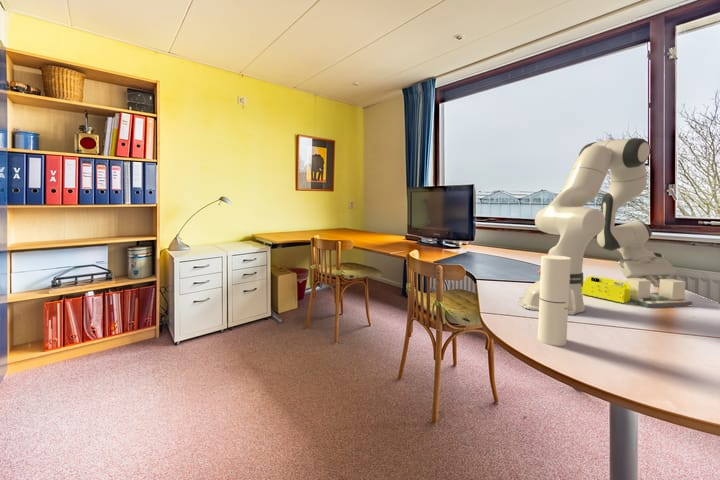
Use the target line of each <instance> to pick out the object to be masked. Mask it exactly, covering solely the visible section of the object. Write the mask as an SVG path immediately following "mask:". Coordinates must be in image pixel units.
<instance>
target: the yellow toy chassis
mask: <svg viewBox="0 0 720 480" xmlns="http://www.w3.org/2000/svg"><path fill="white" fill-rule="evenodd" d="M630 290H631V286H630V285H629V284H627V281H623V280H619V279H618V280H617V279H612V278H607V277H605V278H604V277H599V276H594V275H590V276H588V277H586V278H585V279H583V287H582V295H585V296H588V297H595V298H596V299H597V298H599V299H603V300H609V301H612V302H613V303H622V304H625V303H627V302H628V301H630Z"/></svg>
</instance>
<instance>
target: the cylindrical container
mask: <svg viewBox="0 0 720 480" xmlns="http://www.w3.org/2000/svg"><path fill="white" fill-rule="evenodd" d="M540 256H541V257H540V269H541V275H540V274H539V275H540V277H539V280H540V299H539V311H538V324H537V325H538V328H537V340H539V341H540V342H541V343H543V344H546V345H550V346H555V347H556V346H557V347H563V346H566V345H567V341H568V340H567V338H568V337H567V335H568V322H569V321H568V319H569V318H568V317H569V314H568V303H569V283H570V264H571V258H570V257H565V256H556V255H548V254H547V255H546V254H544V255H540Z"/></svg>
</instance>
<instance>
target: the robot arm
mask: <svg viewBox="0 0 720 480" xmlns="http://www.w3.org/2000/svg"><path fill="white" fill-rule="evenodd" d="M650 153H651V146H650V144H649V142H648V141H647V140H646V139H644V138H639V137H637V138H636V137H633V138H632V137H631V138H629V139H628V138H621V139H620V138H619V139H618V138H617V139H608V140H607V139H606V140H602V141H594V142H590V143H587V144H585V145H584V146H583V147H582V148H581V150H580V151H579V153H578V157H577V159H576V160H575V162H574V164H573V166H572V168H571V170H570V173H569V175H568V176H567V179H566V181H565V183H564V185H563V187H562V189H561V190H560V192H559V193H558V194H557V196H555V198H554V199H553V200H552V201H551V202H550V203H549V204H548V205H546V206H545V207H543V208H542V209H541V210H538V212H537V213H536V215H535V217H534V224H535V225H534V226H535V227H536V229H537V230H539V231H540V232H542V233H545V234H549V235H556V236H559V240H558V242H557V243H556V245H554V246H553V247H551V248H550V249H549V250H548V253H547V255H556V256H565V257H570V258H571V264H570V283H569V303H568V315H570V316H571V315H572V316H573V315H576V314H578V313H583V312H585V311H586V308H585V302H584V298H583V297H584V296H583V294H582V287H583V281H584V272H583V263H584V257H585V255H584V254H585V251H586V248H587V246H588V245H589V243H590V242H591V240H592V239H594V238H595V237H596V242H597V244H598V246H599V247H600V248H601V249H603V250H607V251H610V252H612V251H615V250H617V251H618V252H619V253H620V254H621V257H622V259H620V258H619V260H618V261H617V263H618V265H619V267H620V271H621V272H622V274H623V276H624V277H625V278H626V279H627V278H641V279H645V280H649V281H651V285H652V286H653V287H655V288H658V286H659V284H660V279H672V278H673V277H674V276H676V275H677V270H676V269H675V267H674V266H673V265H672V264H671V263H670V261H669V260H667V259H666V258H665V256H664V254H663V253H661V252H655V251H652V250H648V249H647V248H646V247H645V246H644V244H647V242H648V241H649V239H651V237H652V235H653V231H652V229H651V228H650V226H649V225H648V224H646V223H645V222H643V221H641V220H635V221H631V222H627V223H622V224H619V225H615V222H616V213H617V212H618V210H619V209H620V208H621V207H622V206H624V205H625V204H626V203H628V202H630V201H631V200H633V199H635V198H637V197H638V196H640V195H641V194H642V193H643V192H644V191H645V189H647V183H648V176H647V168H646V162H647V160H648V159H649V157H650ZM608 171H609V176H610V177H609V178H610V182H609V183H610V184H609V187H608V190H607V192H606V193H605V194H604V195H603V196H602V198H601V203H600V204H601V205H600V210H599V209H597V208H594V207H588V206H584V205H586V204H587V203H589V202H592V201H593V200H595V198H596V197H597V196H598V194H599V193H600V190H601V188H602V187H603V186H602V185H603V183H604V181H605V179H606V176H607V174H608ZM538 274H539V275H541V268H540V269H539V270H538ZM539 299H540V279H539V280H537V281H535V282H534V283H532V284H530V285H528V286H527V287H526V289H525V291H524V296H520V297H519V298H518V299H517V303H518V302H519V303H518V304H519V306H520V307H522V306H523V307H522V308H524V309H526V308H527V309H526V310H529V309H530V310H531V311H537V312H539Z"/></svg>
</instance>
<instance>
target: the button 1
mask: <svg viewBox="0 0 720 480" xmlns="http://www.w3.org/2000/svg"><path fill="white" fill-rule="evenodd" d="M626 283H627V284H629V285H630V286H631V290H630V295H631V296H634V297H637V298H650V293H651V285H652V284H651V281H649V280H646V279H641V278H626Z"/></svg>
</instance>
